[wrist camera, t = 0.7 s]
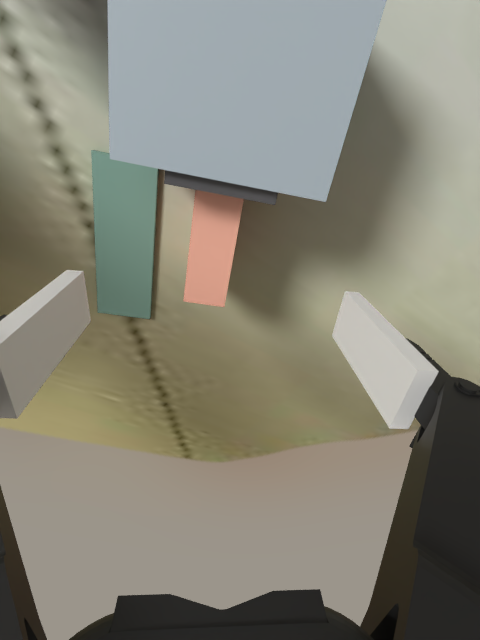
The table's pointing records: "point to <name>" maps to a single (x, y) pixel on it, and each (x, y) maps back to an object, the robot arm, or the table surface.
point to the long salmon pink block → (211, 247)
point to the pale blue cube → (237, 90)
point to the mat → (124, 235)
